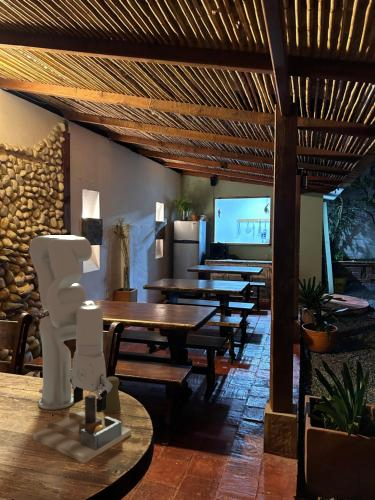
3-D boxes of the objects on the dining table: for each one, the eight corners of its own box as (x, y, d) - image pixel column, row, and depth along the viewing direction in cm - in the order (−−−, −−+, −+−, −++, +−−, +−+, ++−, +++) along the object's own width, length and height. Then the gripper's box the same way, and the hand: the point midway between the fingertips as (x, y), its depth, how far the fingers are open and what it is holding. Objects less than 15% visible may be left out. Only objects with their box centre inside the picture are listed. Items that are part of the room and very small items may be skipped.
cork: (116, 414, 130) (116, 381, 130) (99, 412, 131) (99, 380, 131) (123, 406, 136) (123, 375, 136) (107, 404, 137) (106, 374, 137)
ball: (102, 437, 108) (96, 445, 109) (113, 431, 111) (106, 439, 113) (94, 425, 109) (88, 433, 111) (105, 419, 113) (99, 427, 114)
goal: (80, 444, 109) (80, 430, 108) (106, 429, 117) (106, 416, 117) (95, 450, 105) (95, 436, 105) (121, 435, 113) (121, 421, 113)
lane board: (33, 438, 114) (32, 428, 114) (81, 415, 129) (81, 406, 129) (84, 463, 102) (83, 452, 102) (131, 434, 117) (130, 424, 117)
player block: (79, 436, 113) (78, 398, 112) (92, 428, 117) (92, 392, 116) (88, 440, 110) (88, 401, 110) (101, 432, 114) (101, 395, 114)
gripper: (59, 346, 115) (59, 403, 116) (100, 357, 105) (100, 419, 106) (79, 340, 121) (79, 394, 122) (120, 350, 111) (120, 409, 112)
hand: (89, 406), depth 114 cm, fingers open, 9 cm apart
